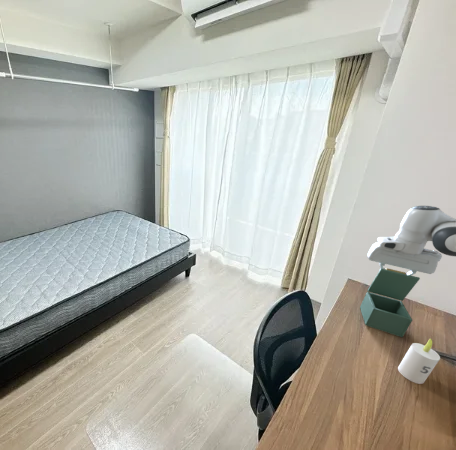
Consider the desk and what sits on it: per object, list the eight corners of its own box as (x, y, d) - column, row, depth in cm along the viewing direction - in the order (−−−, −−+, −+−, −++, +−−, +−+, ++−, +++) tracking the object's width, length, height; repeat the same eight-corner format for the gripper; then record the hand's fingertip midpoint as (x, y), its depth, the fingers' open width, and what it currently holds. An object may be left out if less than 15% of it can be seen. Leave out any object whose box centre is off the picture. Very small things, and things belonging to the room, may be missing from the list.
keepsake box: (402, 337, 94) (412, 320, 91) (365, 325, 100) (373, 308, 96) (393, 317, 105) (401, 301, 101) (359, 307, 110) (367, 291, 106)
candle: (404, 380, 78) (426, 345, 72) (394, 363, 84) (413, 330, 78) (429, 387, 76) (453, 352, 70) (417, 369, 82) (438, 336, 76)
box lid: (419, 278, 93) (417, 270, 96) (381, 269, 98) (379, 262, 101) (402, 301, 101) (400, 293, 104) (367, 291, 106) (366, 284, 109)
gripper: (440, 249, 94) (423, 279, 99) (373, 236, 103) (361, 264, 108) (448, 255, 88) (430, 287, 94) (376, 241, 98) (364, 271, 103)
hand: (392, 275), depth 101 cm, fingers closed on box lid, 6 cm apart
